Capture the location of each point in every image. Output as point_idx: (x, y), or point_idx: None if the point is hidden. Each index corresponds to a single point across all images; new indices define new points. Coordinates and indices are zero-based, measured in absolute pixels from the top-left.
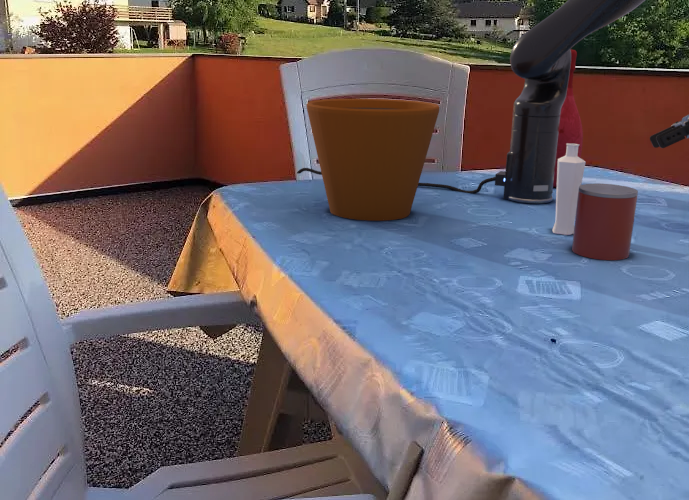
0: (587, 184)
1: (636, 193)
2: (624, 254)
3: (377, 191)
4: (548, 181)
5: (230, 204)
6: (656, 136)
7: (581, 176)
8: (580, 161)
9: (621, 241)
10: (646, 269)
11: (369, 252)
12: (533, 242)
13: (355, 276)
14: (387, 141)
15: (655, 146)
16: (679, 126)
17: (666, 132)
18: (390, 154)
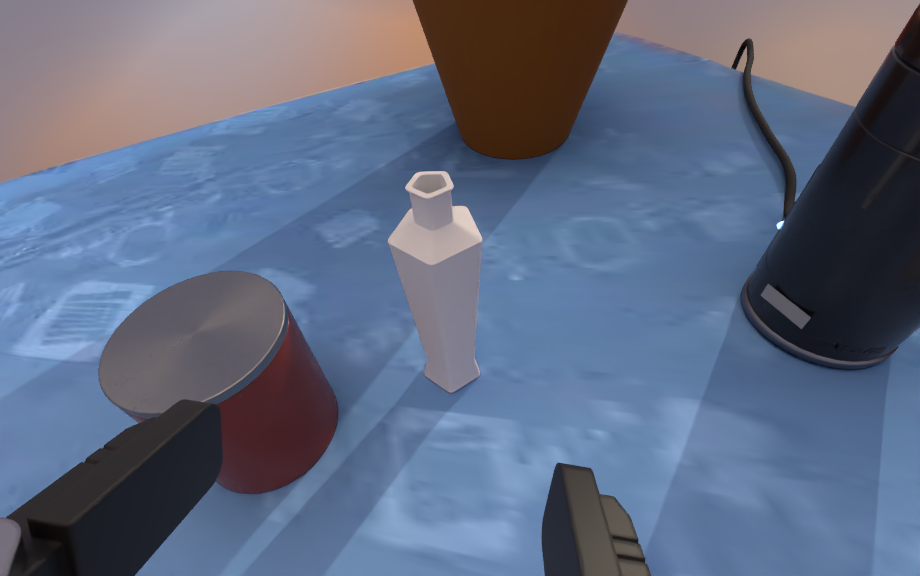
0: (268, 290)
1: (113, 403)
2: None
3: (445, 91)
4: (824, 310)
5: None
6: (211, 403)
7: (427, 293)
8: (409, 248)
9: None
10: None
11: (295, 151)
12: (355, 309)
13: (201, 154)
14: (415, 2)
15: (545, 528)
16: (31, 524)
17: (133, 440)
18: (427, 31)
